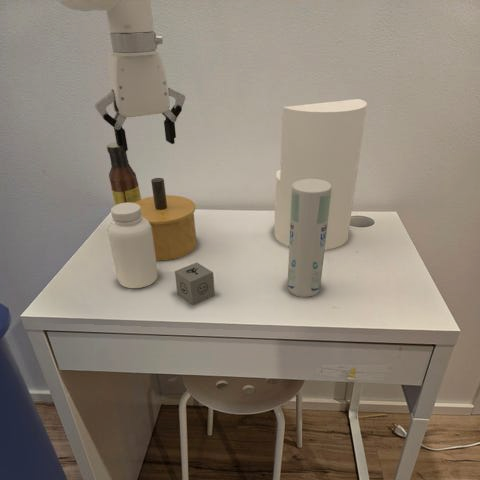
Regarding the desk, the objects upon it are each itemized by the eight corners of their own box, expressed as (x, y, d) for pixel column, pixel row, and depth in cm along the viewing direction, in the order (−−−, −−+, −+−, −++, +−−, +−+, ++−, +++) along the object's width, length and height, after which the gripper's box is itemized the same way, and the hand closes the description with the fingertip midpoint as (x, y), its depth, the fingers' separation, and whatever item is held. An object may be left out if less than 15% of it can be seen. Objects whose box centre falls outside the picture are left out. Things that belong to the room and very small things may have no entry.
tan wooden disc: (139, 232, 86) (133, 197, 82) (119, 208, 97) (113, 175, 92) (206, 217, 92) (204, 184, 87) (181, 195, 102) (177, 164, 98)
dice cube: (198, 284, 85) (196, 262, 82) (214, 295, 82) (212, 272, 79) (177, 294, 83) (174, 271, 80) (192, 305, 79) (190, 281, 76)
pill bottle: (137, 294, 83) (123, 220, 74) (109, 281, 87) (93, 209, 78) (166, 276, 88) (157, 205, 79) (139, 265, 92) (127, 196, 83)
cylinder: (363, 241, 99) (385, 106, 82) (295, 256, 93) (305, 115, 77) (323, 214, 111) (335, 92, 95) (262, 226, 106) (263, 99, 90)
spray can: (319, 299, 80) (330, 193, 68) (284, 295, 82) (289, 190, 70) (322, 281, 85) (333, 179, 73) (289, 277, 87) (294, 177, 75)
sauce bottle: (147, 222, 109) (135, 139, 97) (144, 233, 104) (131, 147, 92) (121, 223, 109) (105, 140, 97) (117, 234, 104) (100, 148, 92)
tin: (146, 266, 91) (140, 228, 86) (128, 240, 101) (122, 205, 96) (205, 251, 96) (203, 214, 91) (183, 228, 106) (179, 194, 101)
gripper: (171, 40, 82) (180, 136, 93) (79, 46, 76) (99, 148, 86) (187, 43, 77) (195, 144, 87) (89, 49, 71) (109, 157, 81)
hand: (147, 145), depth 87 cm, fingers open, 9 cm apart
